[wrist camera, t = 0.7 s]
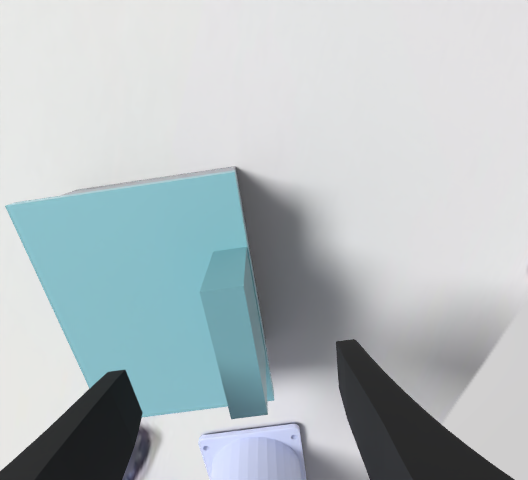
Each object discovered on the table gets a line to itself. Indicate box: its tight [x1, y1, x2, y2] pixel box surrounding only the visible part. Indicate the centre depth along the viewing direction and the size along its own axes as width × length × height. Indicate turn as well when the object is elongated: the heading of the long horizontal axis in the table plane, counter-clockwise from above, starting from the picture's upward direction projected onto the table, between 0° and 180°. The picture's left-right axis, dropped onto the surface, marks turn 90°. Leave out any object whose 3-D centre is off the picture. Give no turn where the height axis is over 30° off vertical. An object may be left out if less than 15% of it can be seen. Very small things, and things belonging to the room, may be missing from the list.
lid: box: [5, 170, 274, 419], centre depth 14 cm, size 13×10×5 cm
